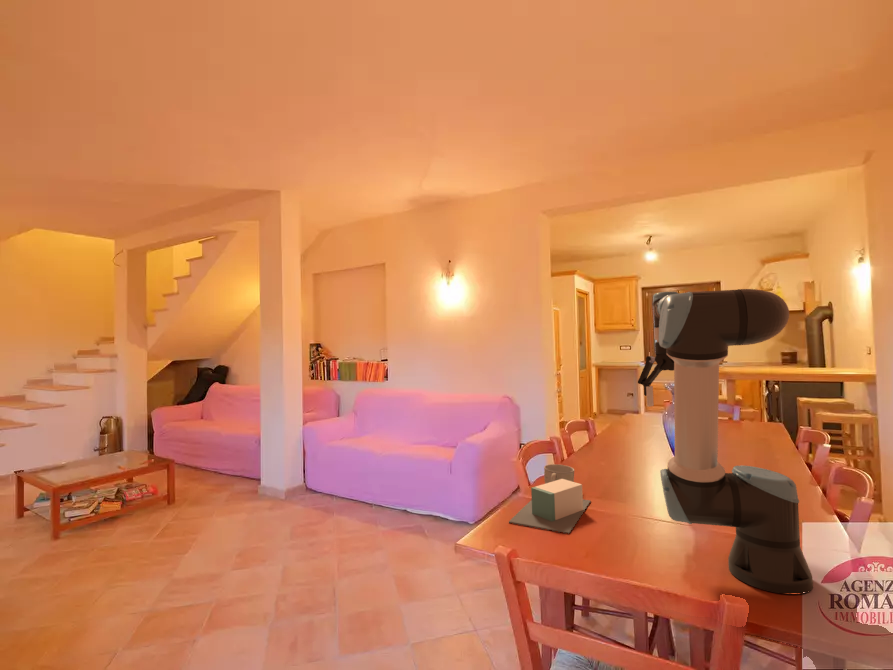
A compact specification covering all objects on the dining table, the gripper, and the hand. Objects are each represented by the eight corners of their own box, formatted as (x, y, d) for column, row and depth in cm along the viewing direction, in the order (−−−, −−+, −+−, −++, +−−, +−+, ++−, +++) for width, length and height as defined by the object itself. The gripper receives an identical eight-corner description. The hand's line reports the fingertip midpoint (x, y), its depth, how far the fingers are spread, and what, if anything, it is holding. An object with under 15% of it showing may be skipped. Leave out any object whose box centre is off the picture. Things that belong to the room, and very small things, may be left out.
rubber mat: (569, 534, 123) (569, 532, 123) (508, 523, 132) (508, 521, 132) (590, 501, 148) (590, 500, 148) (538, 494, 156) (538, 493, 156)
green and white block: (583, 509, 139) (551, 521, 131) (563, 503, 146) (532, 513, 138) (582, 484, 140) (550, 494, 131) (562, 478, 146) (531, 487, 138)
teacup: (552, 483, 169) (551, 462, 169) (580, 488, 162) (579, 466, 162) (535, 493, 158) (534, 470, 158) (563, 499, 151) (562, 475, 151)
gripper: (715, 339, 132) (718, 410, 131) (637, 341, 152) (640, 403, 152) (703, 339, 128) (706, 413, 127) (625, 342, 148) (627, 405, 147)
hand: (670, 408), depth 139 cm, fingers open, 13 cm apart
